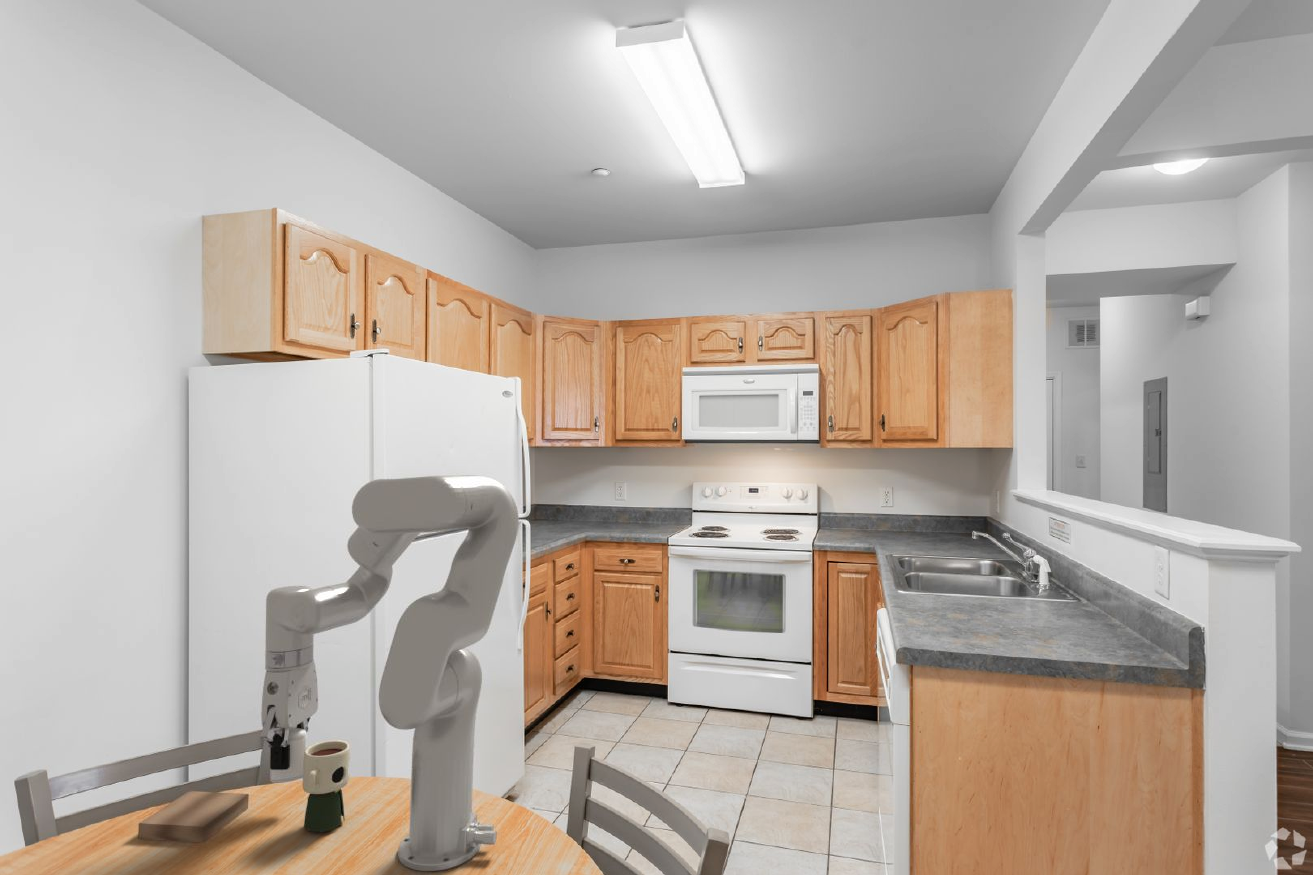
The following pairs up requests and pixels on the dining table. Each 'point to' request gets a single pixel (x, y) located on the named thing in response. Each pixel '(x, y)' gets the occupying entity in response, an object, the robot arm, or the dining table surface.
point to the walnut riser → (193, 816)
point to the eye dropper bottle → (292, 757)
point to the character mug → (325, 783)
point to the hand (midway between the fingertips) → (288, 761)
